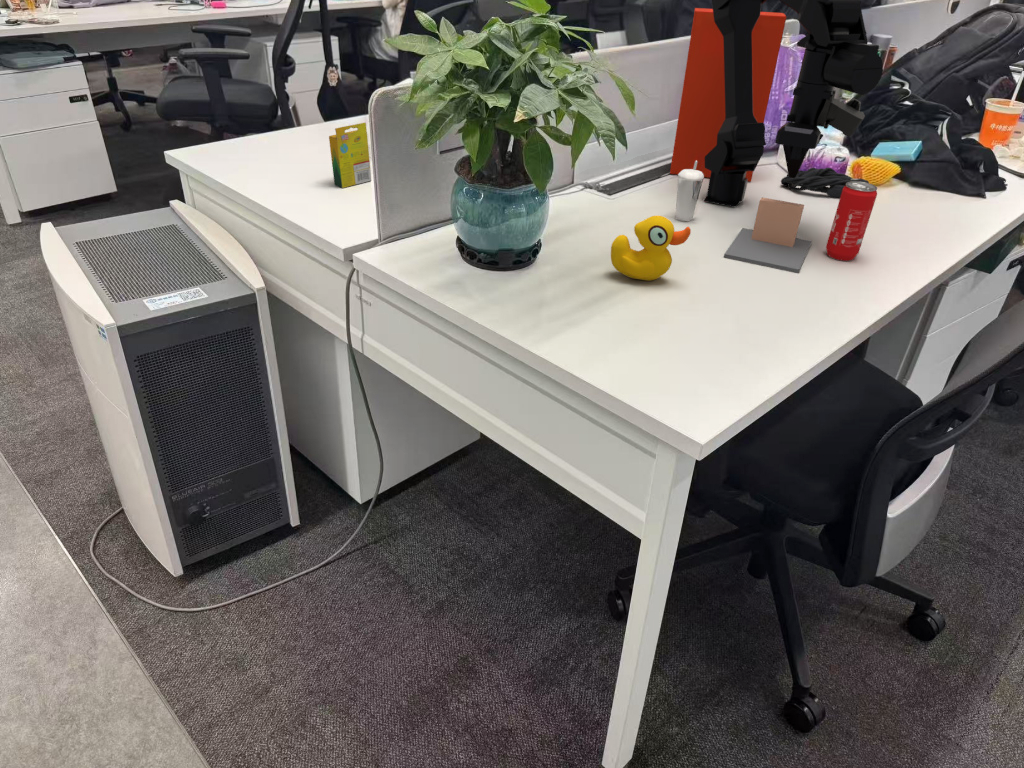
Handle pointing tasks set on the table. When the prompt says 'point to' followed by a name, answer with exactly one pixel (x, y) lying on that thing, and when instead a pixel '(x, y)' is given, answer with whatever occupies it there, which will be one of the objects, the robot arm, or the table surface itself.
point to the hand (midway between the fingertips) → (792, 177)
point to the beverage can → (851, 220)
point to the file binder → (719, 86)
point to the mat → (768, 252)
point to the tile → (777, 221)
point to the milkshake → (688, 193)
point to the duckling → (647, 249)
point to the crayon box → (350, 156)
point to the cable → (820, 181)
